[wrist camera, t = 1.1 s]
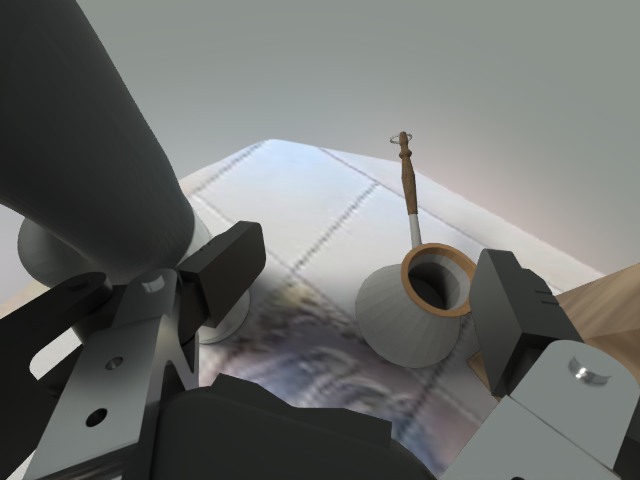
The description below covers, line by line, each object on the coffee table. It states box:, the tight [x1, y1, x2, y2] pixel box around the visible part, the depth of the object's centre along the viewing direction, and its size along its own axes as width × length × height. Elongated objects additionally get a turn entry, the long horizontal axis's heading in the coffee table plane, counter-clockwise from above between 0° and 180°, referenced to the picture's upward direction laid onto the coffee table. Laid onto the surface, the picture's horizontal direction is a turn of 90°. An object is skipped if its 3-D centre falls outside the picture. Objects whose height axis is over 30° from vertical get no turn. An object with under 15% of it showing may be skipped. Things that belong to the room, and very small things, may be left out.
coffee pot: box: [356, 132, 477, 368], centre depth 29 cm, size 21×12×15 cm, turn 5°
